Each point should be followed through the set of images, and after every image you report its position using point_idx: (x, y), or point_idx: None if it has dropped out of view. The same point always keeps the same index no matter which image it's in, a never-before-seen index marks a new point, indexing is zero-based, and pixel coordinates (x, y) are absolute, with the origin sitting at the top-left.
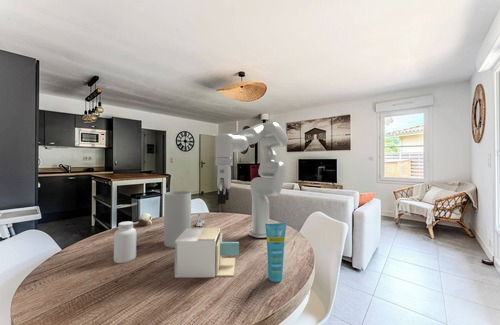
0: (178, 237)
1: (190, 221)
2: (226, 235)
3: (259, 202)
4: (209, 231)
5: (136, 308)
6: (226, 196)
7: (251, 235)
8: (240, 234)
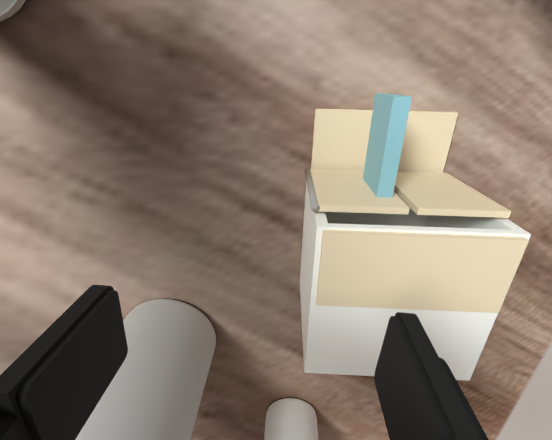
0: None
1: (125, 367)
2: (43, 163)
3: None
4: (391, 277)
5: (525, 325)
6: (90, 341)
7: (18, 8)
8: (3, 84)
